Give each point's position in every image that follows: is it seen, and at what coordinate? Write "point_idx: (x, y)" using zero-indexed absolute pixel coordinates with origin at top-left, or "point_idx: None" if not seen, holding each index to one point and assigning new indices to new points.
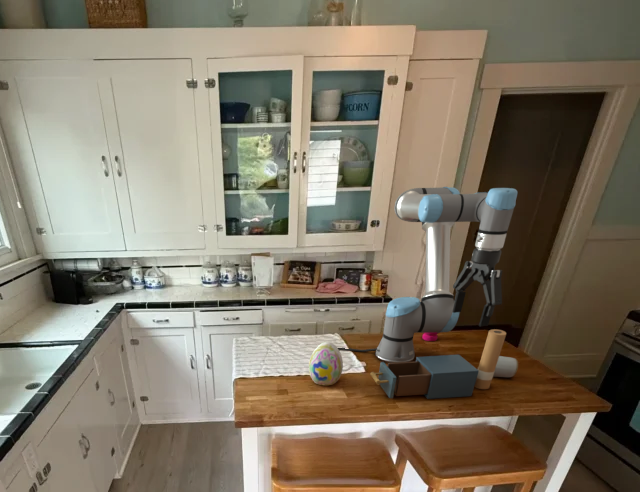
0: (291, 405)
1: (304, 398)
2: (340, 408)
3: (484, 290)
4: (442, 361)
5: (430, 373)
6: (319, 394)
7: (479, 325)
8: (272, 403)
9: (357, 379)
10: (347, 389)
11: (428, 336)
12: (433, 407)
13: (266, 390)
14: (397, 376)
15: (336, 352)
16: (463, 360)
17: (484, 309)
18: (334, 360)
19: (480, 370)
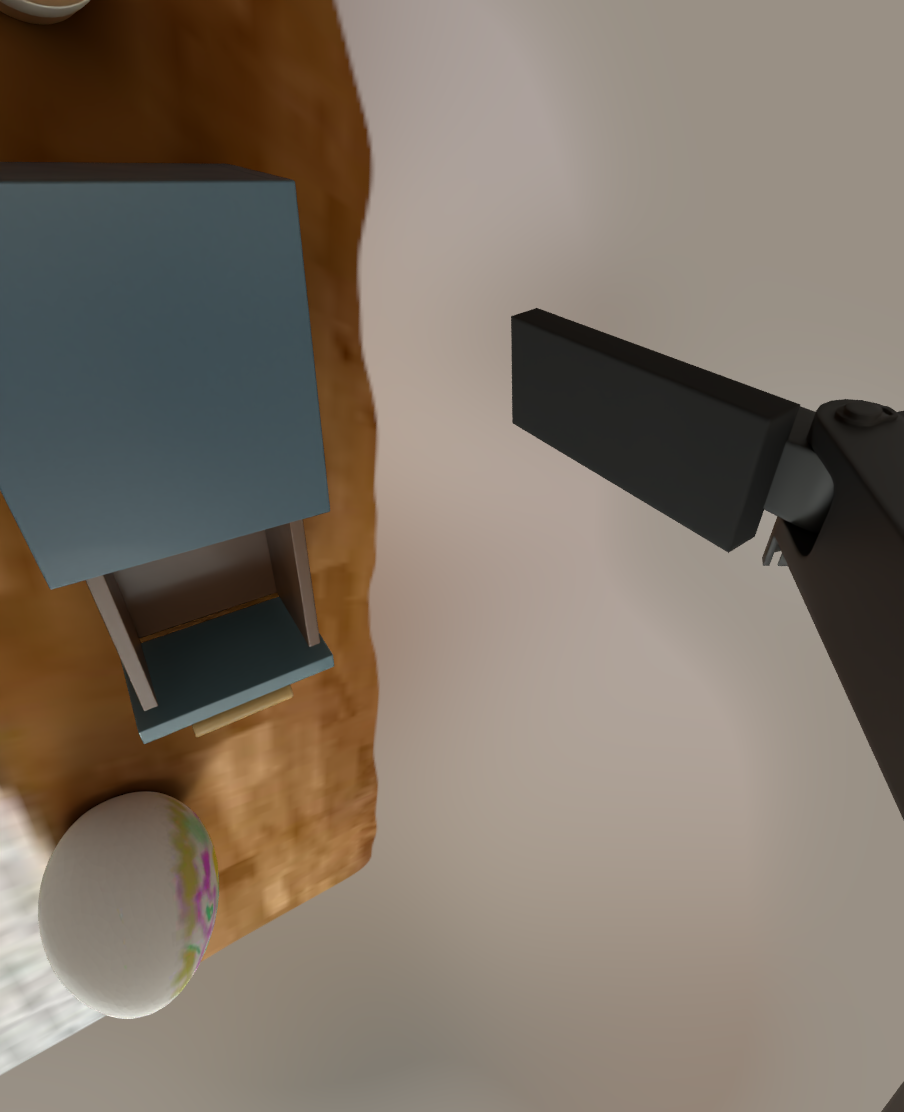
0: (319, 820)
1: (276, 814)
2: (341, 718)
3: (891, 756)
4: (120, 420)
5: None
6: (246, 794)
7: (522, 420)
8: (307, 856)
9: (76, 734)
10: (196, 738)
11: None
12: (350, 432)
13: (227, 906)
14: (124, 606)
15: (184, 928)
16: (63, 216)
17: (687, 509)
18: (207, 893)
19: (69, 4)
